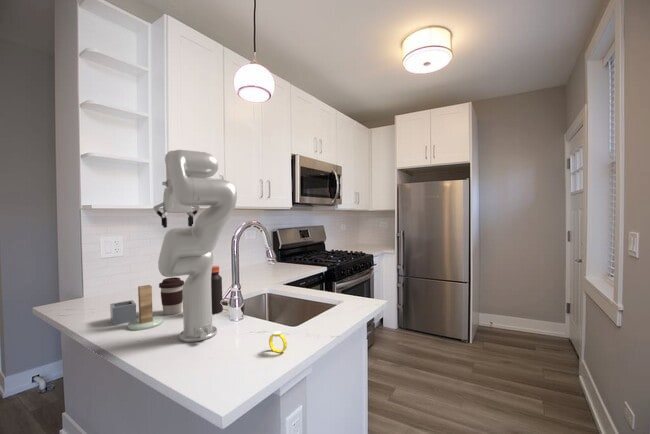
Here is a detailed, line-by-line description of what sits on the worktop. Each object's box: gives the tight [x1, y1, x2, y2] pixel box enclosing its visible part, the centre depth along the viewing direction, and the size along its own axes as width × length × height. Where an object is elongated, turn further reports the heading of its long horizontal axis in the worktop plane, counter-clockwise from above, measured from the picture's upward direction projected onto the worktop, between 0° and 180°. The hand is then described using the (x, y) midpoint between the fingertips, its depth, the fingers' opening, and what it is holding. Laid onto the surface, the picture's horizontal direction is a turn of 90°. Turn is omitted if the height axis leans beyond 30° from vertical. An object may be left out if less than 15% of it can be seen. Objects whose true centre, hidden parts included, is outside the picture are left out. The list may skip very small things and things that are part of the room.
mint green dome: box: [127, 315, 164, 331], centre depth 121 cm, size 12×12×1 cm
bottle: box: [211, 265, 224, 315], centre depth 135 cm, size 7×7×20 cm
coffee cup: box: [158, 276, 185, 316], centre depth 136 cm, size 10×10×15 cm
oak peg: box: [137, 284, 154, 324], centre depth 121 cm, size 4×4×14 cm
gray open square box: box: [109, 299, 137, 326], centre depth 127 cm, size 8×8×7 cm
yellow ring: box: [268, 330, 288, 354], centre depth 95 cm, size 6×3×6 cm, turn 61°
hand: (178, 226), depth 125 cm, fingers open, 9 cm apart
